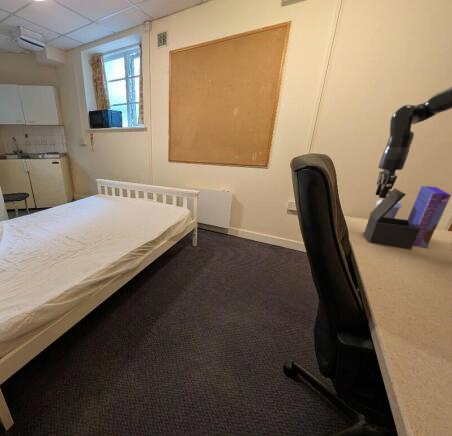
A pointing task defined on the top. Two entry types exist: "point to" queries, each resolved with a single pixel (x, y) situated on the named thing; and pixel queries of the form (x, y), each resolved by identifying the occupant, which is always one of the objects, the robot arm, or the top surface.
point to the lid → (387, 204)
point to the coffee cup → (393, 211)
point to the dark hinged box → (391, 232)
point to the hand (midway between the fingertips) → (380, 196)
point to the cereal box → (428, 212)
